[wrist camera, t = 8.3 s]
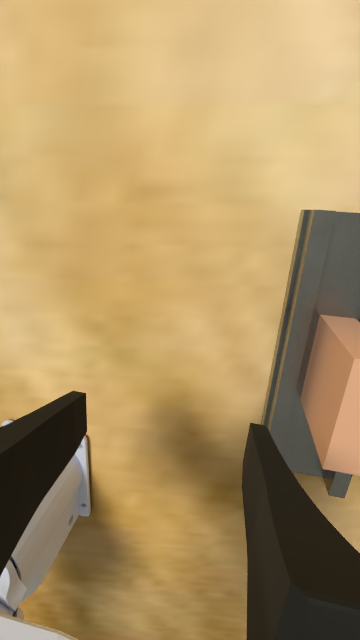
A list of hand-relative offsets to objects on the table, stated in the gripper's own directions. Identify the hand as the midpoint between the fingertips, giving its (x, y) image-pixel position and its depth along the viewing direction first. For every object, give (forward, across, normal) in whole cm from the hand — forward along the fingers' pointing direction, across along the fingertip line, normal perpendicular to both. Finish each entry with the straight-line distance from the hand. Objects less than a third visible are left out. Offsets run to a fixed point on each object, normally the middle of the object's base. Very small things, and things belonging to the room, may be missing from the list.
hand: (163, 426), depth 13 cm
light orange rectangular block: (+8, -9, 0) cm, 12 cm away
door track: (+9, -9, 0) cm, 13 cm away
